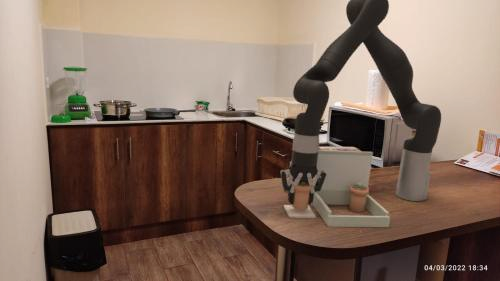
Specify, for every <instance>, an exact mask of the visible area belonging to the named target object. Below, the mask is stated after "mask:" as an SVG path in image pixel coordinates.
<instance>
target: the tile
mask: <svg viewBox="0 0 500 281" xmlns="http://www.w3.org/2000/svg"><path fill="white" fill-rule="evenodd" d="M283 209H284V211H285V212H286V215H287V217H288V218H289V219H293V218H294V219H316V218H317V217H316V216H317V215H316V214H315V212H313V209H312V208H311V207H310V205H308V208H307V209H304V210H300V209H295V208H293V207H292V204H290V205H289V204H283Z"/></svg>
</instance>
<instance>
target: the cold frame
mask: <svg viewBox="0 0 500 281" xmlns="http://www.w3.org/2000/svg"><path fill="white" fill-rule="evenodd" d="M373 155H374V152H373V151H362V152H360V151H332V150H318V159H317V170H319V171H324V172H325V173H326V177H325V180H324V183H323V185H322V188H321V190H320V191H316V192H315V193H314V198H313V202H312V203H311V204H312V206H313V207H314V208H315V210H316V212H318V215H319V216H320V217H321V219H322V220H323V221H324V223H325V224H326V226H327V227H329V228H331V227H336V228H341V227H344V228H346V227H347V228H389V227H390V224H391V223H390V220H391V217H390V212H389V211H388V210H387V209H385V207H383V206H382V205H381V204H380V203H379V202H378V201H377V200H375V199H374V198H373V197H372V196H371V195H369V194H368V195H367V197H366V204H365V210H367V211H368V212H370V215H347V214H346V215H345V214H343V215H342V214H341V215H340V214H339V215H338V214H336V215H334V214H333V213H332V212H333V211H332V210H331V208H330V207H329V206H328V205H334V206H335V205H338V206H341V205H343V206H349V204H350V196H351V192H350V186H351V185H357V183H359V182H361V183H362V184H363V186H366V187H368V188H369V182H370V176H371V171H372V170H371V168H372V161H373ZM317 179H318V177H317V174H316V175H315V177H314V178H313V185H314V186H315V184H316V181H317Z"/></svg>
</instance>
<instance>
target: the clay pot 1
mask: <svg viewBox="0 0 500 281" xmlns="http://www.w3.org/2000/svg"><path fill="white" fill-rule="evenodd" d="M311 189H312V186H309V184H308V183H304V182H302V183H298V185H297V186H294V190H295V191H294V193H295V194H294V204H291V205H292V207H293V208H295V209H300V210H304V209H307V208H308V203H309V193H310V191H311Z"/></svg>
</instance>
